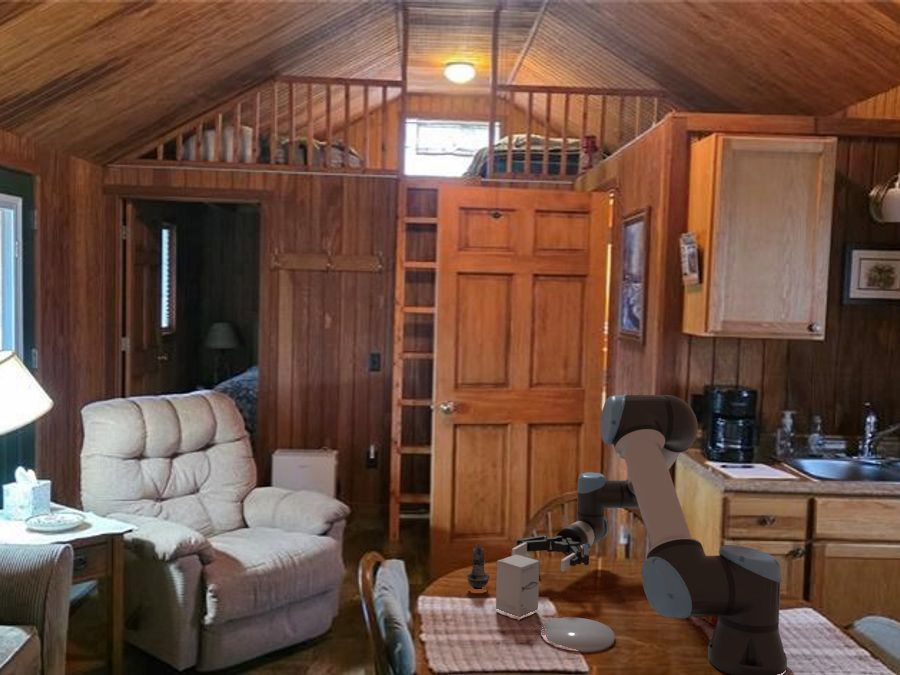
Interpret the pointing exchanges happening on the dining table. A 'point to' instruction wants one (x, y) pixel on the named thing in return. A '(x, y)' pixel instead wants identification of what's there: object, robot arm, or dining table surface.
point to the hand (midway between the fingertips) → (537, 560)
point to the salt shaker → (478, 569)
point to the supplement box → (517, 585)
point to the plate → (579, 634)
